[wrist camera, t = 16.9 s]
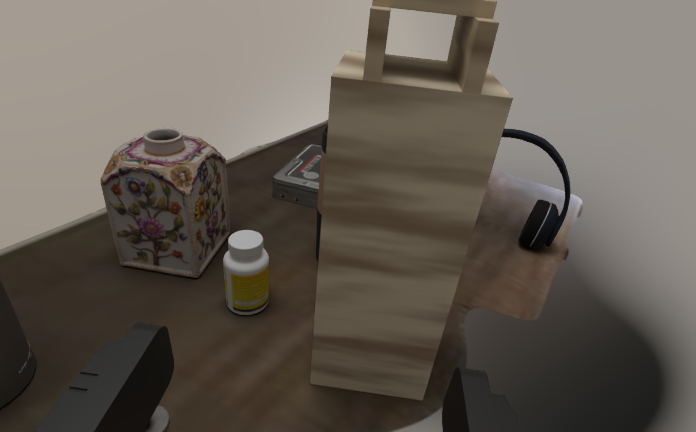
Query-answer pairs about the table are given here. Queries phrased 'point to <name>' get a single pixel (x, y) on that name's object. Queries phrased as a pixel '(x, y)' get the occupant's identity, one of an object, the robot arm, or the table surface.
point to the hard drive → (300, 178)
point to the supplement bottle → (246, 273)
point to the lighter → (159, 421)
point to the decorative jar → (167, 202)
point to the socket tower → (402, 198)
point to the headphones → (544, 214)
